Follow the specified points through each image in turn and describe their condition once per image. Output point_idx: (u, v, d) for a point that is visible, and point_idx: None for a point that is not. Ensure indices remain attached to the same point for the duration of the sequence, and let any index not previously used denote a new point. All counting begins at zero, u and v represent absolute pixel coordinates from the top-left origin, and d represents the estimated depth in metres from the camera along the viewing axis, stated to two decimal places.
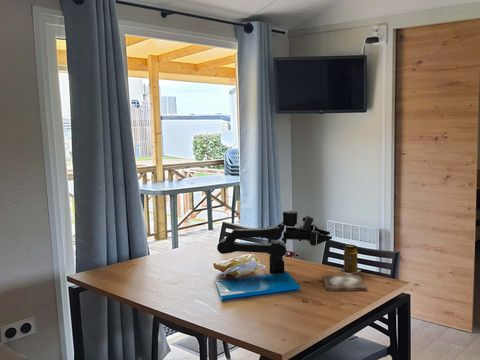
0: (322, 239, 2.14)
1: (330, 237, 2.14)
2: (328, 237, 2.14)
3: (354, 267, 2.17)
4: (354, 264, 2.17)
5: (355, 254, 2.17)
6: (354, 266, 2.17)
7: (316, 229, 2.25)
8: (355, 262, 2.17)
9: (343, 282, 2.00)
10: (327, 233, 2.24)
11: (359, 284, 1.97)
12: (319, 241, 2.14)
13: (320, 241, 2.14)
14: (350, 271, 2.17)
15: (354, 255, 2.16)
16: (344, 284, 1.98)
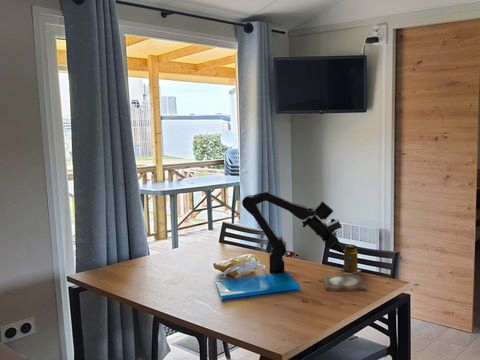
0: (336, 248, 2.13)
1: (343, 251, 2.14)
2: (341, 250, 2.14)
3: (354, 267, 2.17)
4: (354, 264, 2.17)
5: (355, 254, 2.17)
6: (354, 266, 2.17)
7: None
8: (355, 262, 2.17)
9: (343, 282, 2.00)
10: (340, 246, 2.23)
11: (359, 284, 1.97)
12: (332, 247, 2.13)
13: (333, 248, 2.13)
14: (350, 271, 2.17)
15: (354, 255, 2.16)
16: (344, 284, 1.98)
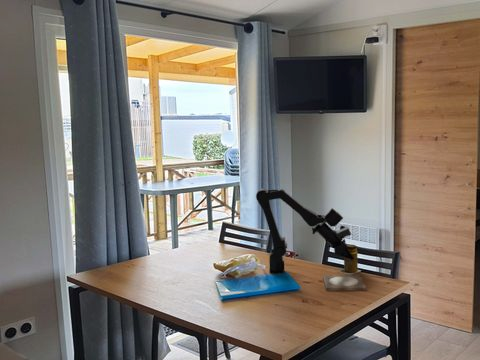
0: (345, 254, 2.14)
1: (352, 258, 2.15)
2: (350, 257, 2.15)
3: (354, 267, 2.17)
4: (354, 264, 2.16)
5: (355, 254, 2.16)
6: (354, 266, 2.16)
7: None
8: (355, 262, 2.17)
9: (343, 282, 2.00)
10: None
11: (359, 284, 1.97)
12: (342, 254, 2.14)
13: (342, 254, 2.14)
14: (350, 271, 2.17)
15: (354, 255, 2.16)
16: (344, 284, 1.98)
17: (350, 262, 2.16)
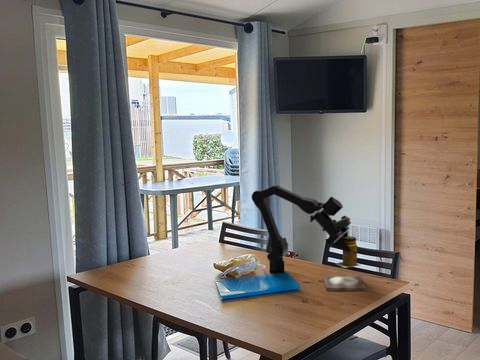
0: (340, 245, 2.04)
1: (348, 250, 2.03)
2: (346, 249, 2.03)
3: (351, 261, 2.04)
4: (351, 257, 2.04)
5: (353, 247, 2.04)
6: (351, 259, 2.04)
7: (345, 235, 2.10)
8: (352, 255, 2.04)
9: (343, 282, 2.00)
10: None
11: (359, 284, 1.97)
12: (336, 244, 2.04)
13: (337, 245, 2.04)
14: (347, 264, 2.05)
15: (351, 248, 2.04)
16: (344, 284, 1.98)
17: (347, 255, 2.04)
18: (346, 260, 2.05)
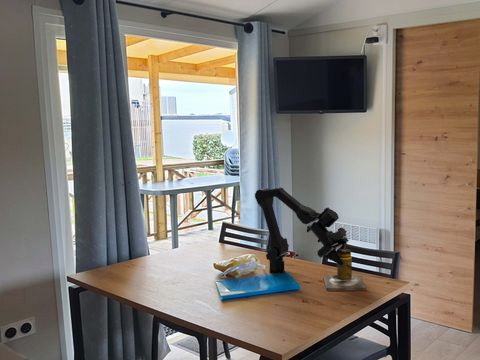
0: (333, 258, 1.99)
1: (341, 263, 1.98)
2: (339, 262, 1.98)
3: (344, 274, 1.98)
4: (344, 271, 1.98)
5: (346, 260, 1.98)
6: (344, 273, 1.98)
7: (342, 247, 2.05)
8: (346, 269, 1.98)
9: (343, 282, 2.00)
10: None
11: (359, 284, 1.97)
12: (329, 257, 1.99)
13: (330, 258, 1.99)
14: (340, 278, 2.00)
15: (344, 261, 1.98)
16: (344, 284, 1.98)
17: (340, 268, 1.99)
18: (339, 273, 1.99)
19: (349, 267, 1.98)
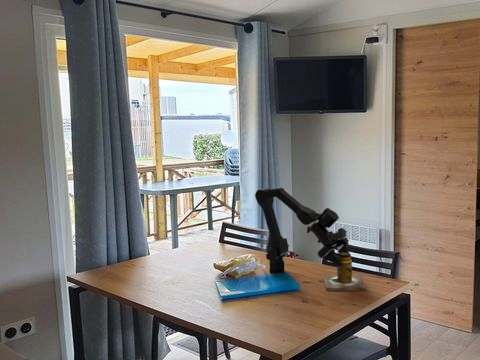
0: (332, 259, 1.98)
1: (340, 264, 1.97)
2: (338, 263, 1.97)
3: (344, 277, 1.99)
4: (344, 274, 1.98)
5: (346, 263, 1.98)
6: (344, 276, 1.98)
7: (344, 247, 2.06)
8: (346, 272, 1.98)
9: None
10: None
11: (359, 284, 1.97)
12: (328, 258, 1.98)
13: (329, 259, 1.98)
14: (340, 281, 2.00)
15: (344, 264, 1.98)
16: (344, 284, 1.98)
17: (340, 271, 1.99)
18: (339, 277, 2.00)
19: (349, 270, 1.99)
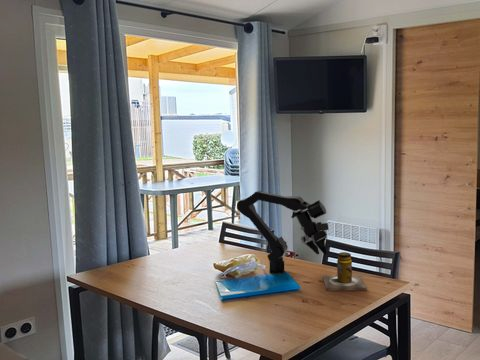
0: (320, 245, 2.09)
1: (325, 252, 2.10)
2: (324, 250, 2.09)
3: (344, 277, 1.99)
4: (344, 274, 1.98)
5: (346, 263, 1.98)
6: (344, 276, 1.98)
7: None
8: (346, 272, 1.98)
9: None
10: (317, 252, 2.19)
11: (359, 284, 1.97)
12: (318, 243, 2.08)
13: (318, 244, 2.08)
14: (340, 281, 2.00)
15: (344, 264, 1.98)
16: (344, 284, 1.98)
17: (340, 271, 1.99)
18: (339, 277, 2.00)
19: (349, 270, 1.99)
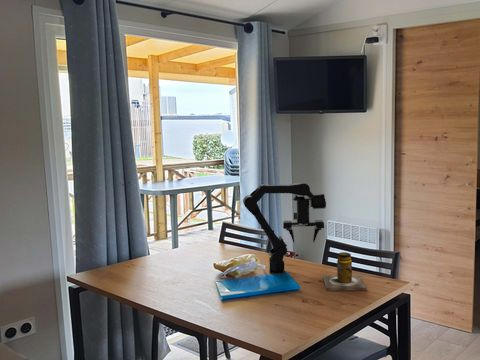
0: None
1: None
2: None
3: (344, 277, 1.99)
4: (344, 274, 1.98)
5: (346, 263, 1.98)
6: (344, 276, 1.98)
7: None
8: (346, 272, 1.98)
9: None
10: None
11: (359, 284, 1.97)
12: None
13: None
14: (340, 281, 2.00)
15: (344, 264, 1.98)
16: (344, 284, 1.98)
17: (340, 271, 1.99)
18: (339, 277, 2.00)
19: (349, 270, 1.99)
